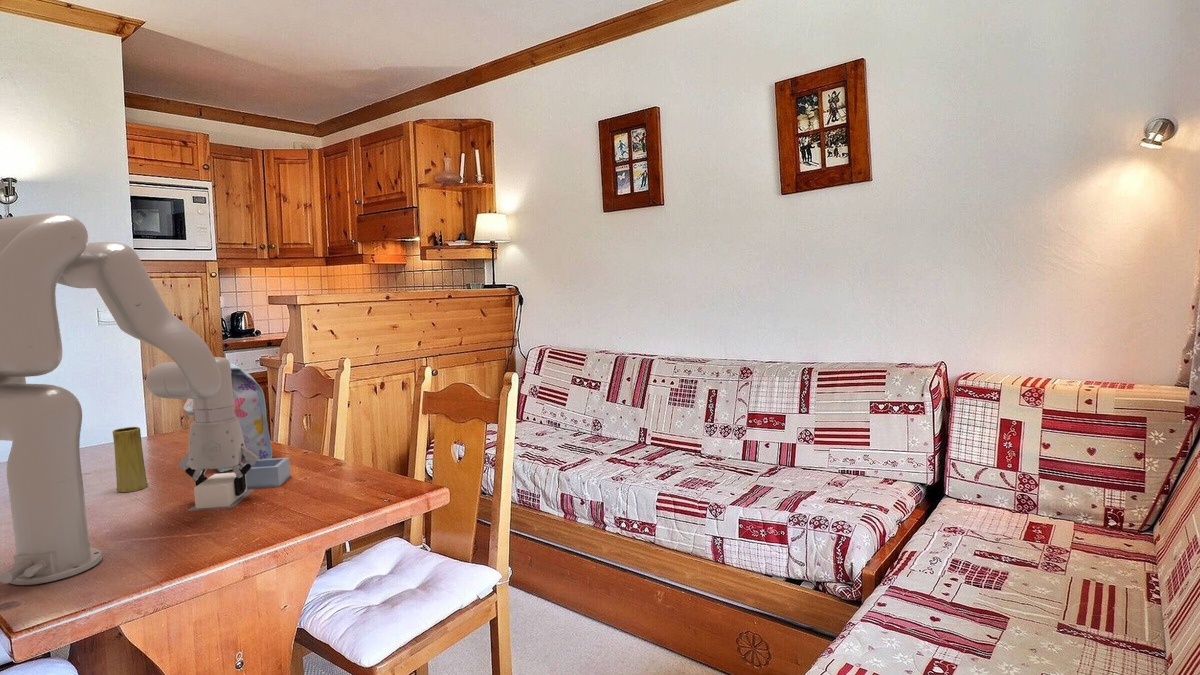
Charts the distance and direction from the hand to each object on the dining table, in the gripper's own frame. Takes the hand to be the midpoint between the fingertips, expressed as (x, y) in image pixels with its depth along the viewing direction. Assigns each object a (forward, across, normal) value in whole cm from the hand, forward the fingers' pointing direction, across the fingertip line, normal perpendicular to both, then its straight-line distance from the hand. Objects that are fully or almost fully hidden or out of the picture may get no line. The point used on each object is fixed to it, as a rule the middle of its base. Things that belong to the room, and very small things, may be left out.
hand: (221, 494), depth 145 cm
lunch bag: (+2, -12, +35) cm, 37 cm away
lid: (+1, 0, 0) cm, 1 cm away
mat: (+2, 0, 0) cm, 2 cm away
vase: (+2, -26, +15) cm, 30 cm away
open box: (+2, +6, +11) cm, 12 cm away
